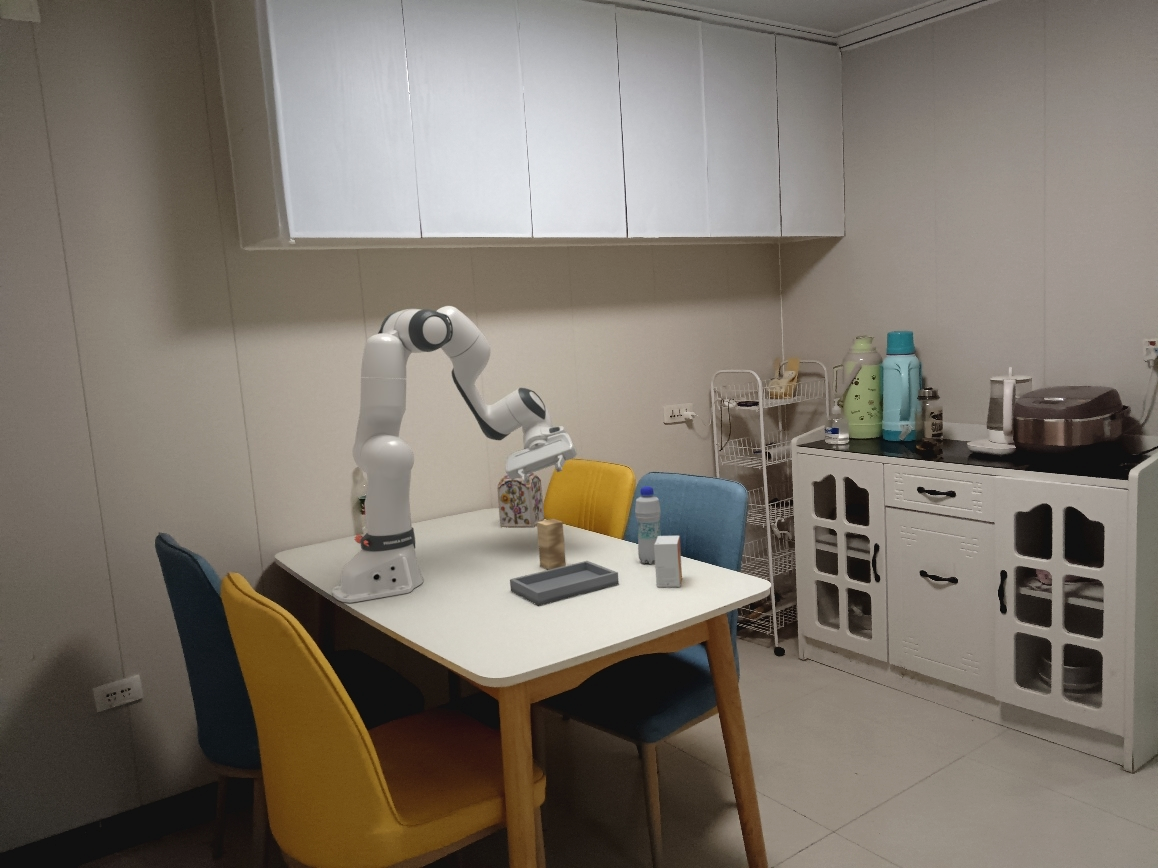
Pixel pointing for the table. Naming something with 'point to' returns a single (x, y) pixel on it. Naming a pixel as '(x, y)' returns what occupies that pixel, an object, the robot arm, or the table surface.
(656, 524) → the bottle
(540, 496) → the decorative jar
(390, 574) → the robot arm
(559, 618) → the table surface
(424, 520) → the table surface
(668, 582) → the small box
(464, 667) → the table surface
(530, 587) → the tray
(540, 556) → the oak block
